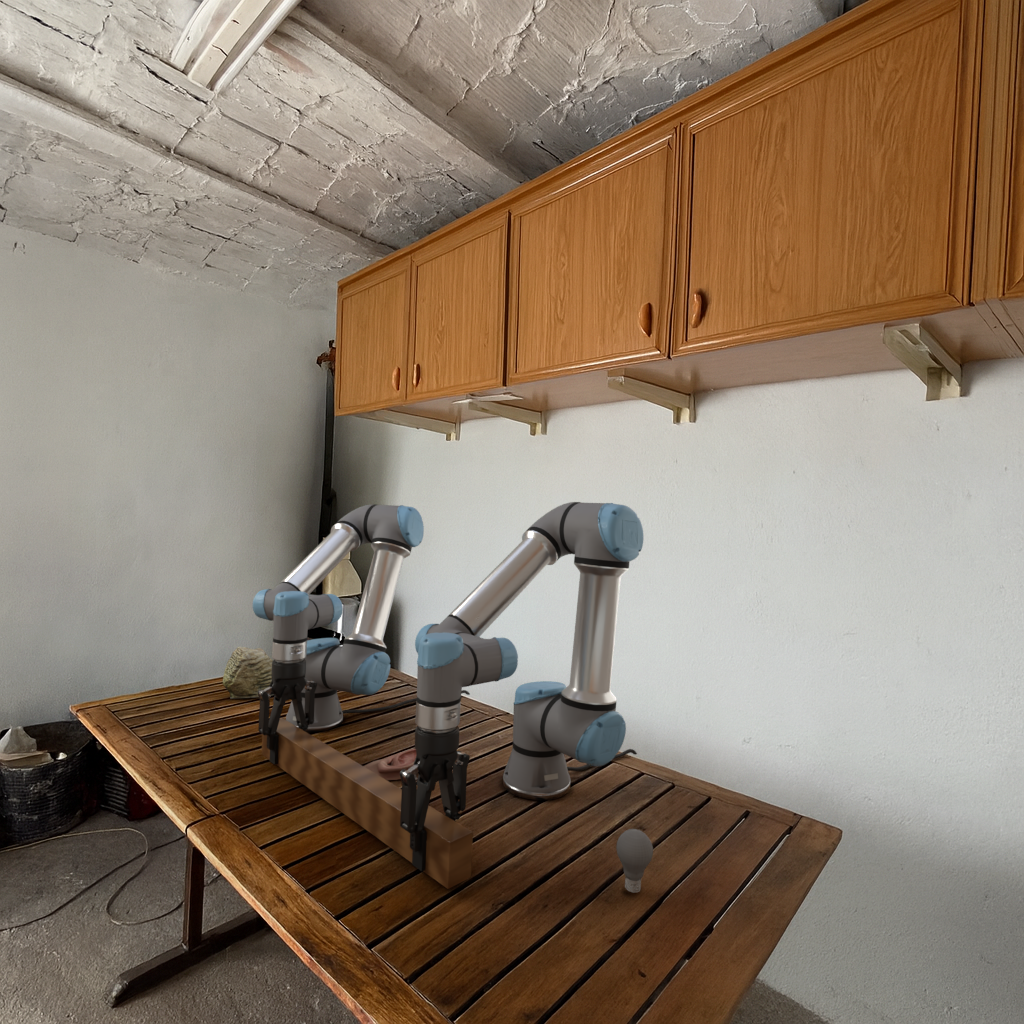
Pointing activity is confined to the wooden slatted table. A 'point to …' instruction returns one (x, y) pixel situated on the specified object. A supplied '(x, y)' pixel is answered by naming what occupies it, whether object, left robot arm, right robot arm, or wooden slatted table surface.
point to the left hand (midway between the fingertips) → (285, 758)
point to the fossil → (247, 672)
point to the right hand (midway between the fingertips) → (432, 860)
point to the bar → (372, 803)
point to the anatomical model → (393, 765)
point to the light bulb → (634, 857)
